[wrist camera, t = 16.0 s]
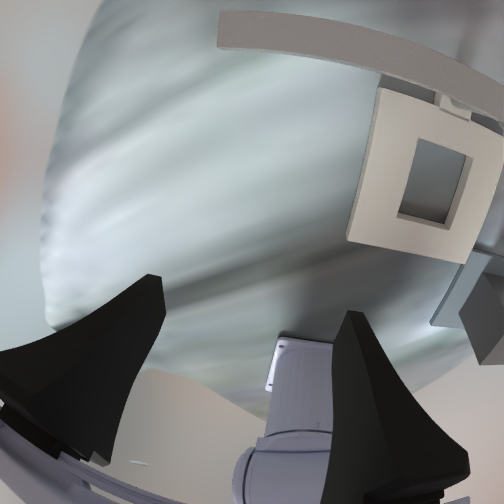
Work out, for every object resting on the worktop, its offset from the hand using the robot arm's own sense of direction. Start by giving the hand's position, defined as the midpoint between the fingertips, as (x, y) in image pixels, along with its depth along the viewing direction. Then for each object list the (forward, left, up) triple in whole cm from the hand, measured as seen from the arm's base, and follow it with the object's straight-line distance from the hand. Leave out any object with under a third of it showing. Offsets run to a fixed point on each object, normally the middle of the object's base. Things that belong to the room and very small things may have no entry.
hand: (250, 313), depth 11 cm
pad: (-4, -20, -10) cm, 22 cm away
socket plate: (+5, -10, -10) cm, 15 cm away
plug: (-4, -20, -9) cm, 22 cm away
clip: (+10, -4, -4) cm, 11 cm away
